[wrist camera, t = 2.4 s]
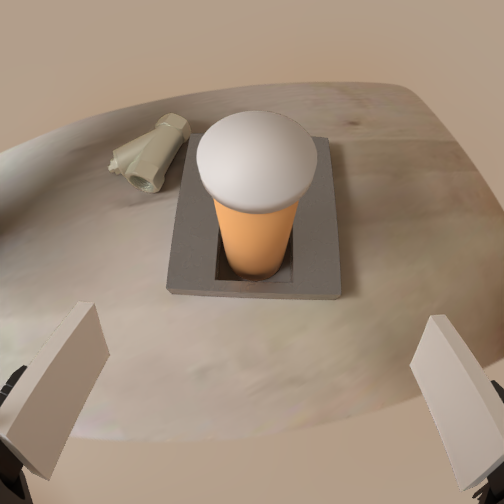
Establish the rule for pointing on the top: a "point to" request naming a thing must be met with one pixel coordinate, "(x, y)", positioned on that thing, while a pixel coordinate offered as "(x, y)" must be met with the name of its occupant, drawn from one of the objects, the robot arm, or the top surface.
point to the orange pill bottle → (256, 185)
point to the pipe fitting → (151, 153)
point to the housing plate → (301, 240)
